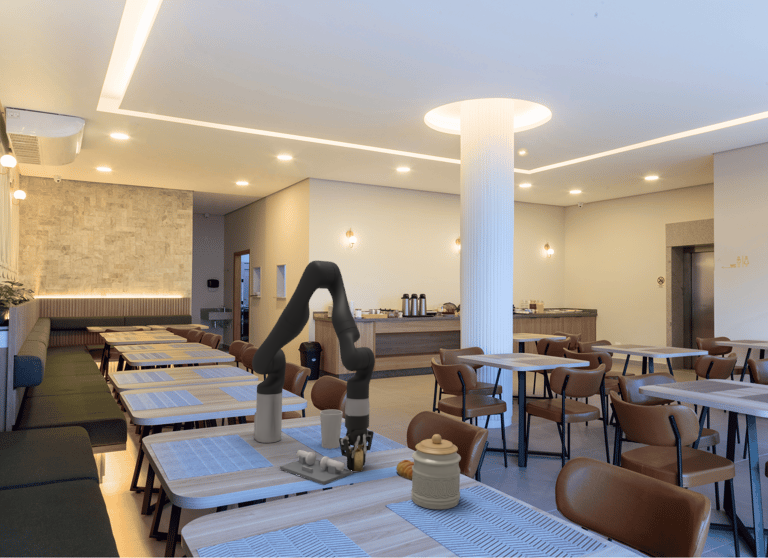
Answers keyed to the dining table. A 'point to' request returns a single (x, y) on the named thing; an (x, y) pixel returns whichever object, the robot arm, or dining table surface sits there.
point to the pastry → (405, 469)
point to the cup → (330, 428)
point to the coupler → (358, 459)
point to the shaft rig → (317, 468)
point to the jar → (436, 474)
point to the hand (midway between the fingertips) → (356, 467)
